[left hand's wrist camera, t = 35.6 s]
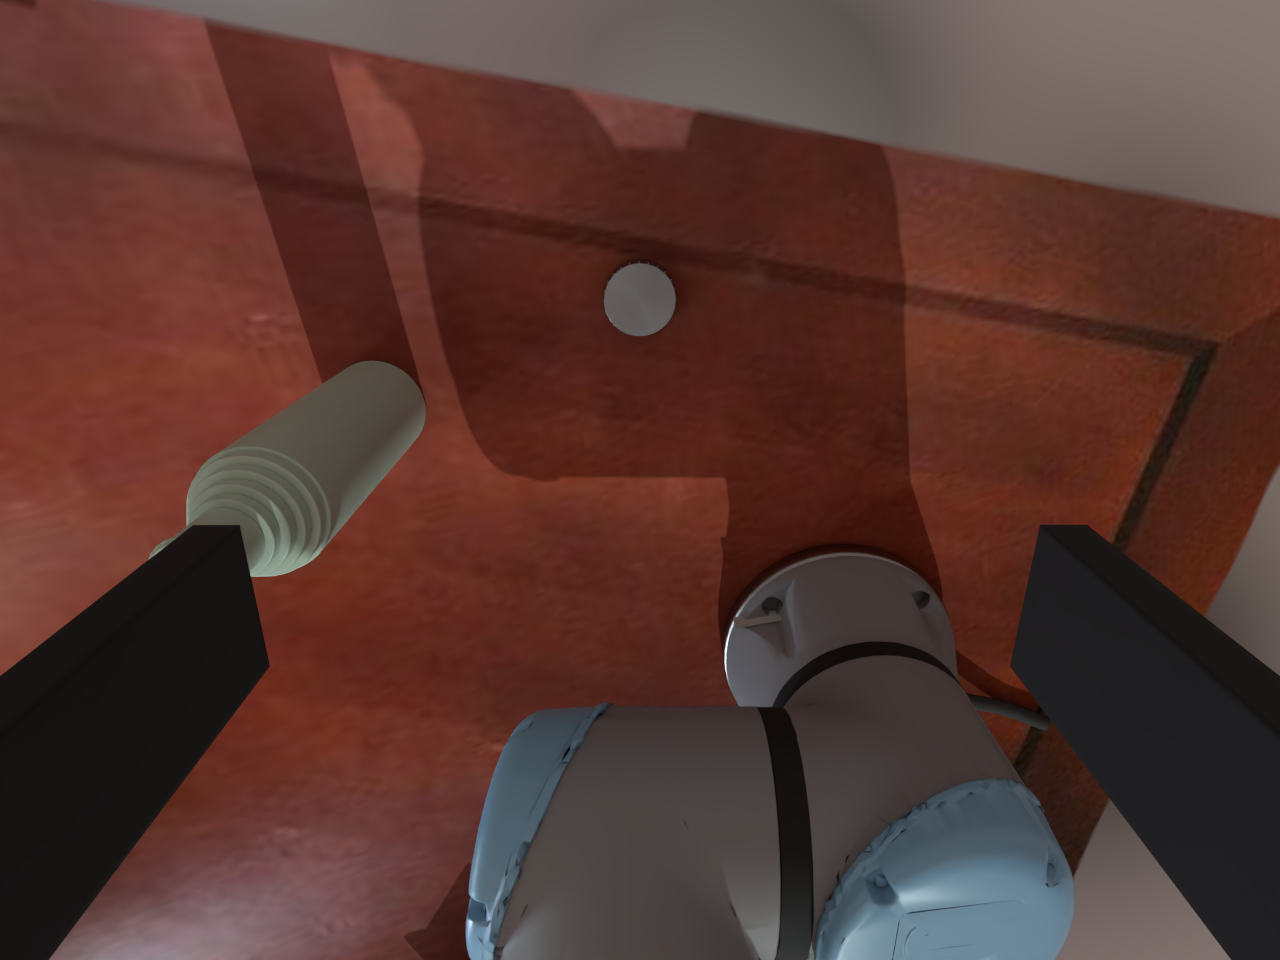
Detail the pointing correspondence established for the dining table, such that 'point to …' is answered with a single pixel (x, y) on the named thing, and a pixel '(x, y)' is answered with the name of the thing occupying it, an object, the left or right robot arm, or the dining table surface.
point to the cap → (639, 297)
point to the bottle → (308, 466)
